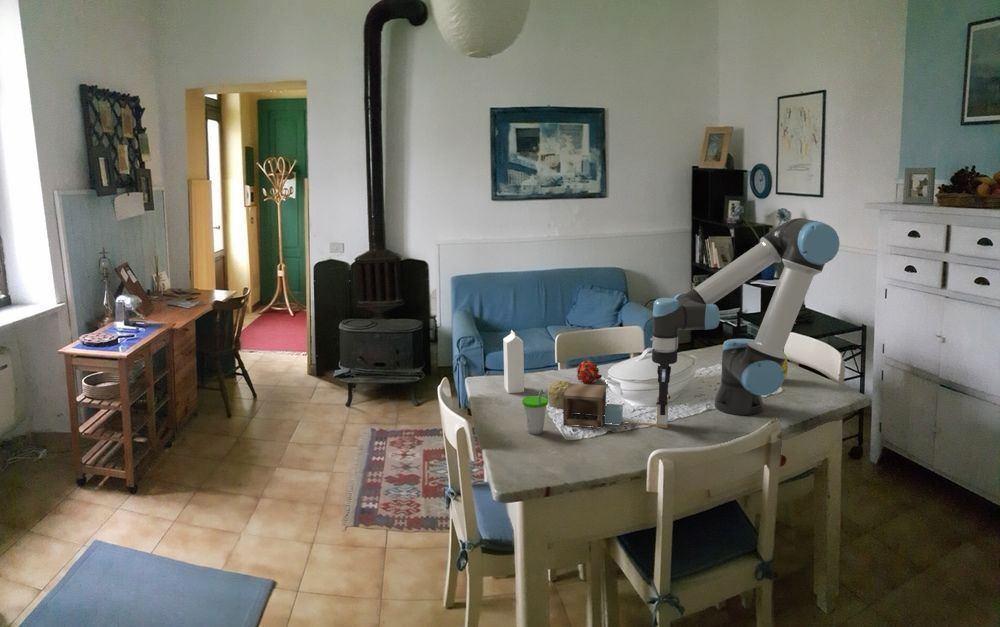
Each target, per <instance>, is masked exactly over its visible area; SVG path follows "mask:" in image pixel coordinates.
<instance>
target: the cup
mask: <svg viewBox="0 0 1000 627" xmlns="http://www.w3.org/2000/svg"><path fill="white" fill-rule="evenodd" d="M543 392H544V389H541V390H539V392H538V395H530V396H527V397H524V398H523V399H522V401H521V404H522V405H523V409H524V415H525V421H526V428H527V432H528V434H530V435H536V436H537V435H541V434H543V432H544V427H545V426H544V425H545V418H546V410H547V405H549V404H548V402H549V401H548V398H546V397H544V396H541V394H542V393H543Z"/></svg>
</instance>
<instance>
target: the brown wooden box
mask: <svg viewBox="0 0 1000 627" xmlns="http://www.w3.org/2000/svg"><path fill="white" fill-rule="evenodd" d="M606 405H607V385H600V384H589V385H588V384H584V383H583V384H582V383H571V382H570V383H569V385H568V387H567V389H566V391H565V393H564V395H563V408H562V410H563V413H562V414H563V415H562V416H563V418H562V420H563V422H562V423H563V424H562V425H563V426H568V425H579V426H578V427H581V426H593V427H602V428H603V416H602V415H605V408H606ZM572 413H580V414H579V415H584V414H591V415H590V416H597V419H585V418H584V419H583V418H572V416H573V414H572ZM571 415H572V416H571ZM570 417H571V418H570ZM593 427H592V428H593Z"/></svg>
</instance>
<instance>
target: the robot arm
mask: <svg viewBox="0 0 1000 627" xmlns="http://www.w3.org/2000/svg"><path fill="white" fill-rule="evenodd" d="M839 250H840V237H839V235H838V232H837V231H836V230H835V229H834V228H833V227H832V226H831V225H829V224H826V223H825V222H822V221H819V220H814V219H813V220H811V219H807V218H802V217H798V218H797V217H796V218H792V219H789V220H787V221H785V222H783V223H781V224H780V225H778V226H776V227H775V228H774V229H772V230H771V231H769V232H767V233H766V234H765V235H764V236H762V237H761V238H760V239H759V242H758V244H756V245H754V247H751V248H750V249H749V250H747V251H746V252H744V253H743V254H742V255H740V256H739V257H737V258H735V260H734V259H733V261H731V262H730V263H728V264H727V265H725V266H724V267H723V268H721V269H719V270H718V271H717V272H715V273H714V274H713V275H711V276H710V277H708V278H707V279H705V280H704V281H702V282H701V283H700V284H698V285H697V286H695V287H693V289H691V290H689V291H688V292H686V293H685V292H683V293H678V294H677V295H675V296H674V297H660V298H657V299H656V300H654V302H653V306H652V308H653V309H652V337H651V338H650V342H652V347H651V348H653V349H652V350H651V360H652V362H653V363H655V364H659V365H657V370H656V372H657V383H658V393H659V402H656V406H657V405H658V424H665V425H667V409H668V410H669V401H668V402H667V394H669V383H670V382H671V381H670V378H671V371H672V366H671V365H673V364H675V363H677V361H678V350H677V349H678V348H679V331H692V330H693V331H695V330H696V331H697V330H705V331H707V330H715V329H716V328H718V327H719V324H720V320H721V319H720V318H721V315H720V314H721V313H720V309H719V307H718V306H717V304H715V303H716V302H718V301H720V300H721V299H723V298H725V296H727V295H729V294H730V293H731V292H733V291H734V290H735V289H737V288H739V287H740V286H741V285H743V284H744V283H746V282H747V281H749V280H751V279H752V278H754V277H755V276H757V275H758V274H759V273H760V272H762V271H764V270H765V269H766V268H769V267H770V266H771V265H772V264H774V263H781V262H782V263H783V265H784V267H783V269H782V272H781V274H780V277H779V279H778V282H777V284H776V285H775V286H776V287H775V289H774V291H773V294H772V297H771V299H770V301H769V303H768V306H767V309H766V311H765V314H764V316H763V319H762V321H761V324H760V326H759V329H758V332H757V333H756V336H755V338H754V339H751V338H732V339H731V338H730V339H727V340H725V341H724V342H723V345H722V350H721V351H722V356H721V378H720V379H721V380H720V384H719V388H718V390H717V392H716V394H715V397H714V407H715V408H716V409H717V410H718V411H721V412H723V413H727V414H731V415H737V416H752V415H757V414H760V413H761V412H763V406H764V402H763V399H762V396H768V395H771V394H773V393H775V392H777V391H778V390H779V389H780V388H781V387H782V385H783V384H784V381H785V379H784V372H783V369H782V366H783V363H784V361H785V358H786V357H787V355H786V354H784V353H785V352H784V349H785V347H786V343H787V341H788V339H789V336H790V334H791V333H792V330H793V327H794V325H795V322H796V319H797V317H798V316H799V313H800V310H801V307H802V306H803V303H804V300H805V298H806V296H807V293H808V291H809V288H810V287H811V284H812V281H813V280H814V277H815V276H817V275H818V274H820V273H822V272H823V269H824V267H825V264H828V263H829V262H830V261H832V260H833V259H834V258H835V257H836V256H837V255H838V252H839ZM785 355H786V356H785ZM670 399H671V395H669V397H668V400H670ZM667 426H668V425H667Z"/></svg>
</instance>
